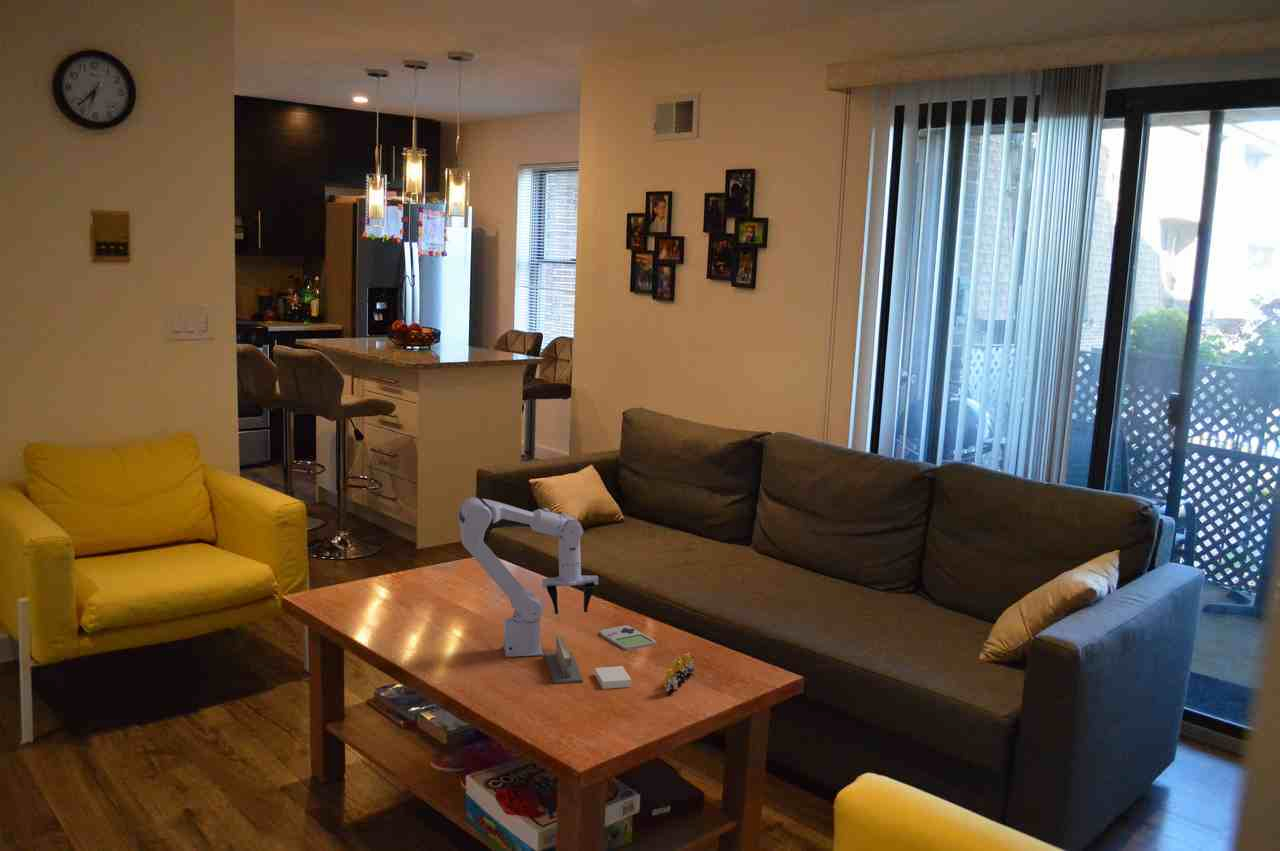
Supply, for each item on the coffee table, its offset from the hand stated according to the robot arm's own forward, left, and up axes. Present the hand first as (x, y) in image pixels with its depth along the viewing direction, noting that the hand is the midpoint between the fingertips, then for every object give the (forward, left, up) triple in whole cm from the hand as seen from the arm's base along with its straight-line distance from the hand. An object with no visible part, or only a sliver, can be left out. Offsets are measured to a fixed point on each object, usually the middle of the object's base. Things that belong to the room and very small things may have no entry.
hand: (570, 611), depth 274 cm
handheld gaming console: (+16, +4, -10) cm, 20 cm away
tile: (+7, -20, -9) cm, 23 cm away
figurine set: (+23, -29, -10) cm, 38 cm away
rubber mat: (-4, -15, -10) cm, 18 cm away
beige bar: (-4, -15, -9) cm, 18 cm away
